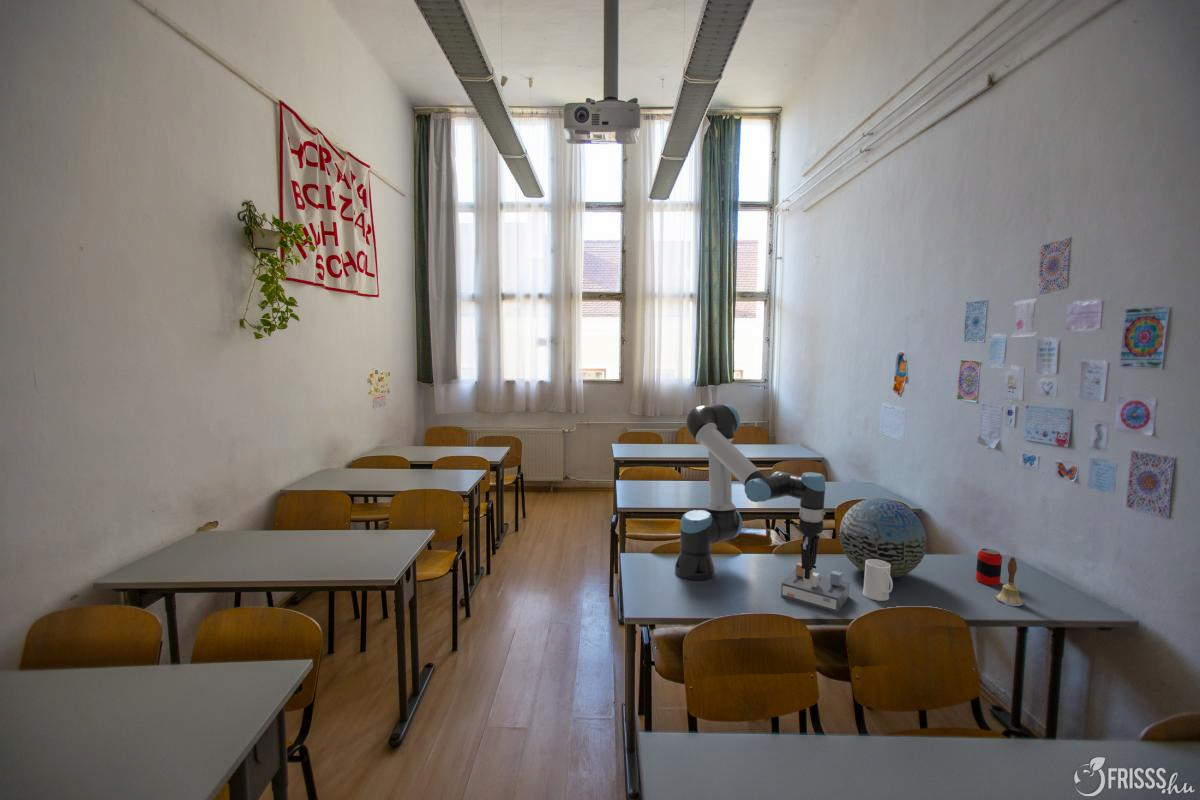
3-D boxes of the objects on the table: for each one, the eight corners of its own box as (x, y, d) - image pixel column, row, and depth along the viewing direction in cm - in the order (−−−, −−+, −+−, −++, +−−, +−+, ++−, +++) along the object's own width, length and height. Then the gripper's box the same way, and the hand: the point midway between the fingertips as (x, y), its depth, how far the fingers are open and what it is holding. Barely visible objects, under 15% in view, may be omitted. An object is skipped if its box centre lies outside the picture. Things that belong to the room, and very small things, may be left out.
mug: (900, 605, 193) (902, 571, 191) (876, 605, 192) (879, 572, 190) (879, 589, 204) (882, 558, 203) (857, 590, 203) (859, 558, 202)
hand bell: (1016, 609, 191) (1020, 564, 189) (989, 599, 198) (993, 555, 196) (1029, 604, 195) (1033, 559, 193) (1002, 594, 202) (1006, 551, 200)
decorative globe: (938, 579, 214) (944, 503, 211) (897, 598, 197) (903, 516, 194) (864, 554, 238) (868, 485, 235) (821, 569, 222) (825, 495, 218)
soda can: (981, 576, 218) (983, 546, 216) (1003, 583, 211) (1006, 552, 210) (971, 580, 213) (974, 550, 212) (994, 587, 207) (997, 556, 206)
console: (780, 596, 197) (781, 583, 197) (794, 582, 210) (795, 569, 209) (836, 613, 186) (837, 598, 185) (848, 596, 198) (849, 582, 198)
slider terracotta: (795, 575, 203) (796, 564, 203) (798, 572, 205) (798, 562, 205) (804, 577, 201) (804, 566, 201) (806, 574, 204) (807, 564, 203)
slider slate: (830, 584, 196) (830, 573, 195) (832, 581, 198) (833, 570, 198) (839, 586, 194) (839, 575, 194) (841, 583, 196) (842, 572, 196)
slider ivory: (807, 585, 195) (807, 574, 194) (810, 582, 197) (810, 571, 197) (816, 587, 193) (816, 576, 193) (818, 584, 195) (819, 573, 195)
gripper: (817, 526, 180) (813, 596, 182) (828, 516, 190) (824, 583, 193) (793, 521, 184) (790, 590, 187) (806, 512, 195) (802, 577, 197)
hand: (807, 586), depth 190 cm, fingers closed
